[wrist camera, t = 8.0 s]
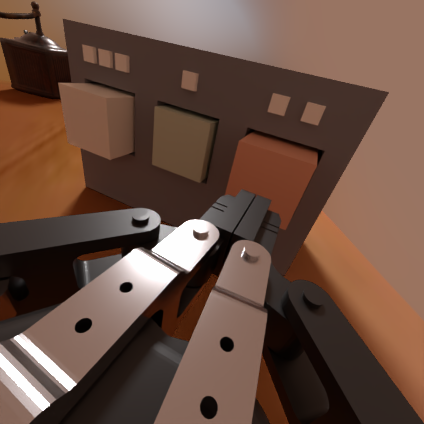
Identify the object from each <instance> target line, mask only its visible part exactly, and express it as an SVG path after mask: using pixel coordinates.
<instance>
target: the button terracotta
mask: <svg viewBox="0 0 424 424" xmlns="http://www.w3.org/2000/svg"><path fill="white" fill-rule="evenodd" d="M317 159H318V149H317V148H314V147H310V146H307V145H304V144H301V143H297V142H294V141H291V140H287V139H284V138H281V137H277V136H274V135H271V134H267V133H264V132H261V131H257V130H255V131H253V132H252V133H250V134H249V135H247V136H245V137H244V138H242V139H241V140H239V143H238V146H237V150H236V154H235V158H234V162H233V165H232V169H231V173H230V177H229V181H228V185H227V188H226V192H225V195H228V194H229V195H231V196H234V197H236V196H237V194H238V193H239V192H240V191H241V189H243V190H246V191H249V192H251V193H254V194H256V196H257V195H260V196H262V197H265V198H268V199H270V200H272V201H271V204H270V206H269V208H268V210H270V211H273V212H275V213H278V214H279V216H280V219H281V224H280V227H279V228H281V229H284V230H286V228H287V226H288V224H289V222H290V220H291V218H292V216H293V214H294V212H295V210H296V208H297V206H298V204H299V202H300V200H301V198H302V195H303V193H304V191H305V189H306V187H307V185H308V183H309V181H310V179H311V177H312V175H313V173H314V171H315V169H316V167H317Z"/></svg>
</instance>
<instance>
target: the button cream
mask: <svg viewBox="0 0 424 424" xmlns="http://www.w3.org/2000/svg"><path fill="white" fill-rule="evenodd" d="M58 85H59V91H60V97H61V103H62V109H63V115H64V121H65V127H66V133H67V139H68V143H69V144H72V145H74V146H77V147H79V148H82V149H84V150H87V151H89V152H92V153H94V154H97V155H99V156H102V157H104V158H107V159H109V160H112V159H115V158H117V157H120V156H123V155H126V154H129V153H132V152H135V93H132V92H128V91H125V90H122V89H118V88H115V87H112V86H108V85H105V84H97V83H58Z"/></svg>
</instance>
